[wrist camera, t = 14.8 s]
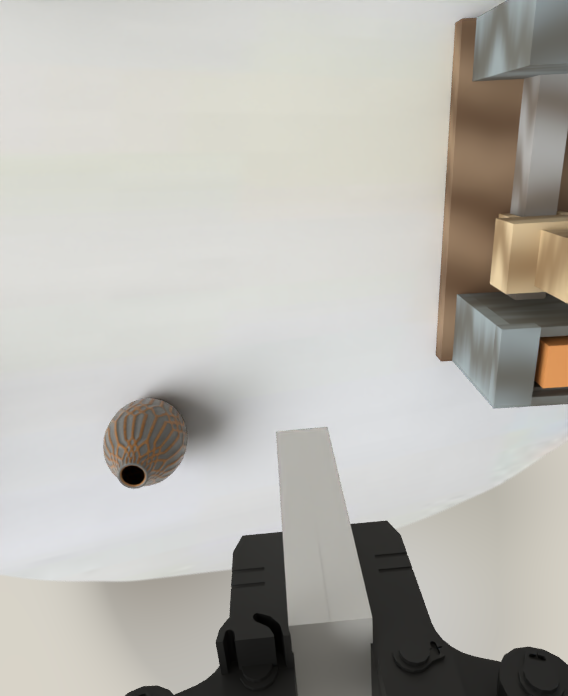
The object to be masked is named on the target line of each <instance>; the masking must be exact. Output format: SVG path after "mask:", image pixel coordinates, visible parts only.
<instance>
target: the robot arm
mask: <svg viewBox="0 0 568 696" xmlns="http://www.w3.org/2000/svg"><path fill="white" fill-rule="evenodd" d="M276 439H277V454H278V470H279V486H280V501H281V517H282V532H277V533H266V534H256V535H245V536H242V538H241V539H240V541H239V543H238V545H237V546H236V548H235V550H234V552H233V564H232V583H231V587H232V589H231V601H230V618H229V619H228V620H227V621H226V622H225V623H224V625H223V626H222V627H221V628H220V630H219V633H218V637H217V640H216V647H217V652H218V658H219V664H220V666H219V668H218V669H217V670H216V671H215V673H213V674H212V675H211V676H210V677H209V678H208V679H206V680H205V681H203V682H201V683H199V684H198V685H196V686H194V687H191V688H189V689H187V690H184V691H183V692H180V693H178V694H175V695H173V694H172V693H171V691H170V690H168V689H165V688H162V687H160V686H143V687H141V688H138V689H136V690H134V691H131V692H129V693H128V694H126V695H125V696H568V665H567V664H566V663H565V662H564V661H563V660H561V659H560V658H559V657H557V656H555V655H553V654H551V653H549V652H547V651H545V650H542V649H537V648H532V647H523V648H516V649H513V650H512V651H510V652H509V653H507V654H506V655H504V657H503V659H502V661H501V662H499V661H494V660H489V659H484V658H479V657H474V656H471V655H468V654H465V653H462V652H460V651H458V650H456V649H455V648H453V647H451V646H450V645H448V643H446V642H445V641H444V640H442V638H441V637H440V636H439V635H438V633H437V632H436V631H435V629H434V627H433V625H432V623H431V620H430V617H429V614H428V611H427V609H426V606H425V603H424V600H423V597H422V594H421V592H420V589H419V586H418V584H417V580H416V577H415V575H414V572H413V570H412V566H411V563H410V560H409V558H408V556H407V552H406V549H405V546H404V544H403V541H402V538H401V535H400V534H399V533H398V532H397V531H396V530H395V529H394V528H393V527H392V526H391V525H390V523H389V522H388V521H378V522H367V523H357V524H350V521H349V516H348V512H347V508H346V504H345V500H344V495H343V491H342V487H341V483H340V478H339V474H338V470H337V466H336V461H335V457H334V453H333V449H332V444H331V440H330V436H329V432H328V427H321V428H310V429H299V430H288V431H277V432H276Z"/></svg>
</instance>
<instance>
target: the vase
mask: <svg viewBox="0 0 568 696" xmlns="http://www.w3.org/2000/svg"><path fill="white" fill-rule="evenodd" d="M186 446H187V430H186V426H185V423H184V420H183V418H182V416H181V415H180V413H179V412H178V411H177V410H176V409H175V408H174V407H173V406H172V405H170V404H169V403H167V402H165V401H162V400H159V399H153V398H146V399H140V400H136V401H134V402H131V403H129V404H128V405H126V406H124V407H123V408H122V409H121V410H119V411H118V412H117V413H116V415H115V416H114V417H113V419H112V420H111V422H110V423H109V425H108V428H107V430H106V433H105V437H104V444H103V448H104V457H105V460H106V463H107V465H108V467H109V469H110V470H111V472H112V473H113V474H114V475H115V476H116V477H117V478H118V479H119V481H120V482H121V484H123V485H124V486H126V487H128V488H140V487H142V486H149V485H153V484H156V483H159V482H161V481H163V480H164V479H166V478H167V477H168V476H170V475H171V474H172V473H173V472H174V471H175V470H176V468H177V467H178V466H179V464H180V463H181V461H182V459H183V457H184V454H185V450H186Z"/></svg>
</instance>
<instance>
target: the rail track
mask: <svg viewBox="0 0 568 696" xmlns="http://www.w3.org/2000/svg"><path fill="white" fill-rule="evenodd" d="M557 211H564V212H568V0H507V1H505V2H504V3H502V4H500V5H498V6H497V7H495V8H493V9H491V10H490V11H488V12H486V13H484V14H483V15H481V16H479V17H478V18H466V19H461V20H459V21H458V22H456V23H455V37H454V54H453V71H452V88H451V105H450V122H449V139H448V156H447V173H446V190H445V207H444V224H443V241H442V258H441V275H440V292H439V309H438V326H437V343H436V356H437V357H438V358H439V359H440V361H453V362H454V363H455V364H456V365H457V367H458V368H459V369H460V370H461V371H462V372H463V374H464V375H465V376H466V377H467V378H468V379H469V381H470V382H471V383H472V384H473V385H474V386H475V387H476V389H477V390H478V391H479V392H480V393H481V394H482V396H483V397H484V398H485V399H486V400H487V401H488V403H489V404H490V405H491V406H492V407H493V408H510V407H526V406H543V405H559V404H568V387H555V388H542V387H541V386H540V385H539V384H538V383H537V382H535V381H534V378H535V371H536V363H537V356H538V348H539V341H540V337H551V336H568V304H567V303H565V302H564V301H562V300H560V299H558V298H556V297H554V296H552V295H550V294H549V293H547V292H535V293H517V294H505V293H504V292H502V291H500V290H499V289H497V288H496V287H494V286H492V285H491V284H490V276H491V265H492V254H493V244H494V233H495V222H496V218H499V214H505V213H510V214H513V215H517V216H520V217H527V216H546V215H556V214H557Z"/></svg>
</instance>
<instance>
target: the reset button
mask: <svg viewBox="0 0 568 696" xmlns="http://www.w3.org/2000/svg"><path fill="white" fill-rule="evenodd" d="M534 381H535V382H537V383H538V384H539V385H540V386H541V387H542V388H555V387H568V336H551V337H540V341H539V348H538V356H537V363H536V371H535V378H534Z"/></svg>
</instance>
